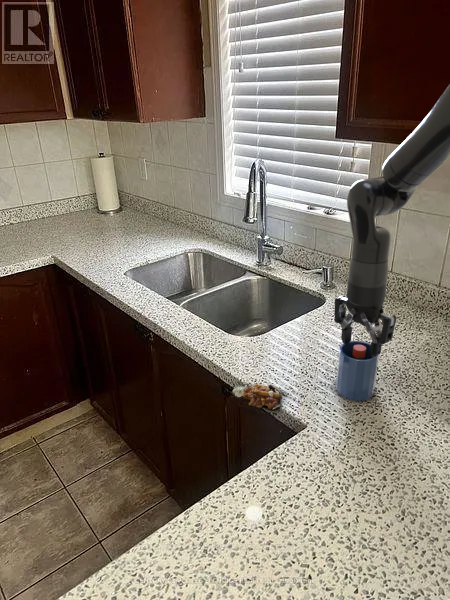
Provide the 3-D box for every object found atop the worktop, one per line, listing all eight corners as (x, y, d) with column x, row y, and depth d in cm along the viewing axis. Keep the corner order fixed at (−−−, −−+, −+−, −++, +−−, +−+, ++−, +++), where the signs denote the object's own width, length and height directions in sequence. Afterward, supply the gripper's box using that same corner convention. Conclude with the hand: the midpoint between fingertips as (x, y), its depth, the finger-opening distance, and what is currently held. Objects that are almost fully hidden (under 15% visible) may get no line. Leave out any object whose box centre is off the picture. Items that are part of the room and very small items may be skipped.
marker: (363, 389, 102) (368, 348, 97) (355, 393, 100) (360, 352, 95) (353, 383, 104) (358, 343, 99) (346, 388, 102) (350, 347, 97)
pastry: (238, 384, 106) (237, 371, 105) (287, 395, 102) (287, 382, 100) (226, 402, 100) (226, 389, 99) (278, 414, 96) (278, 401, 94)
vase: (380, 392, 101) (386, 351, 97) (357, 407, 97) (362, 365, 92) (351, 376, 107) (355, 336, 103) (328, 389, 103) (332, 349, 98)
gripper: (410, 284, 87) (399, 356, 94) (350, 264, 97) (344, 331, 104) (386, 295, 83) (377, 369, 90) (327, 273, 93) (322, 341, 100)
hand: (359, 348), depth 97 cm, fingers open, 6 cm apart
